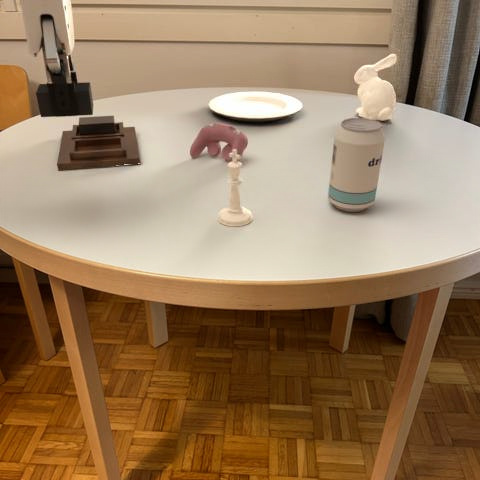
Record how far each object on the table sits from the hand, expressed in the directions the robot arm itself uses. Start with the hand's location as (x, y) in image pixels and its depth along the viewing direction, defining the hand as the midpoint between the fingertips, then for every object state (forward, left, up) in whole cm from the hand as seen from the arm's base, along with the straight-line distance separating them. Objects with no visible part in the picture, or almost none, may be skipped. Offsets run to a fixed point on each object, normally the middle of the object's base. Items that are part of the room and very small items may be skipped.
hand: (67, 108), depth 70 cm
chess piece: (+21, -8, -15) cm, 27 cm away
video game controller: (+23, +16, -15) cm, 32 cm away
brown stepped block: (+2, +25, -14) cm, 29 cm away
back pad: (0, 0, 0) cm, 0 cm away
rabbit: (+61, +36, -15) cm, 73 cm away
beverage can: (+39, -7, -15) cm, 42 cm away
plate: (+36, +43, -15) cm, 58 cm away
